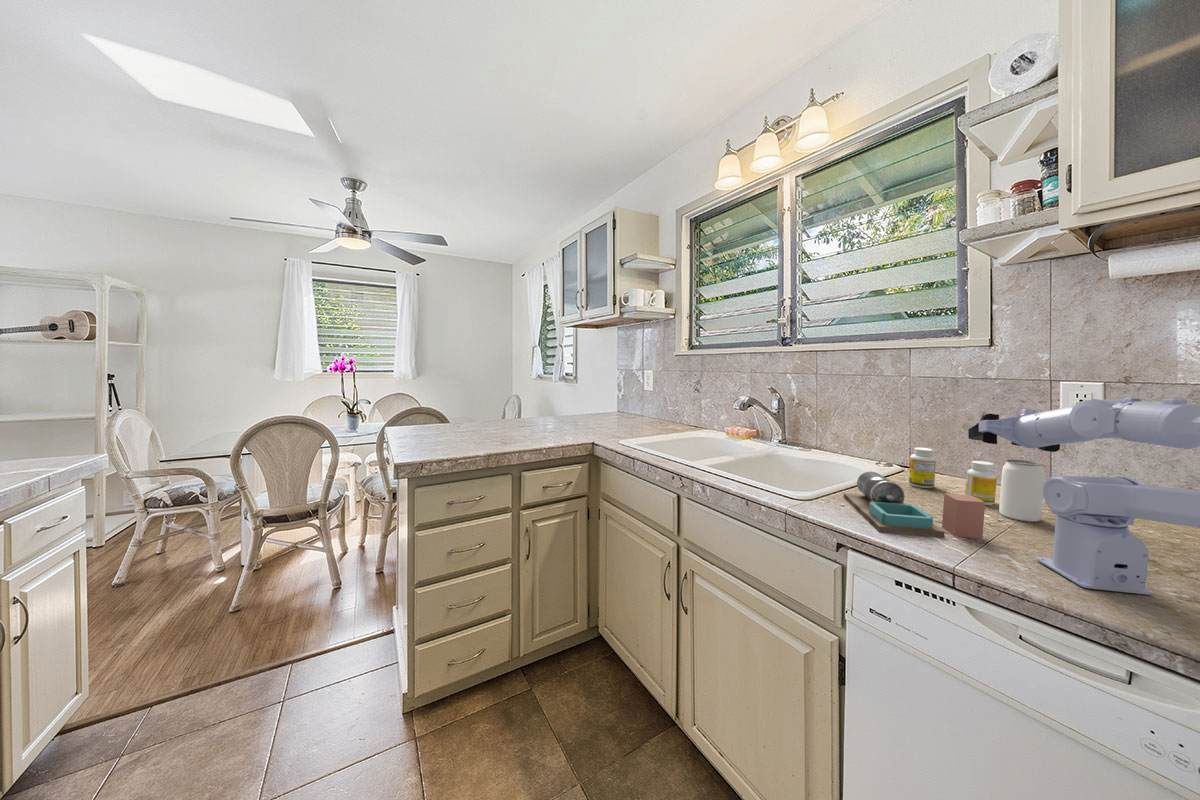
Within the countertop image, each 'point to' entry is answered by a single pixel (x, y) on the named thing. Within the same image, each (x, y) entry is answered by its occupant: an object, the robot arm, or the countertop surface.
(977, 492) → the supplement bottle
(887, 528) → the base plate
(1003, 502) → the can
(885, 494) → the motor
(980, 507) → the block
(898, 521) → the teal square tray
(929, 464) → the supplement bottle
